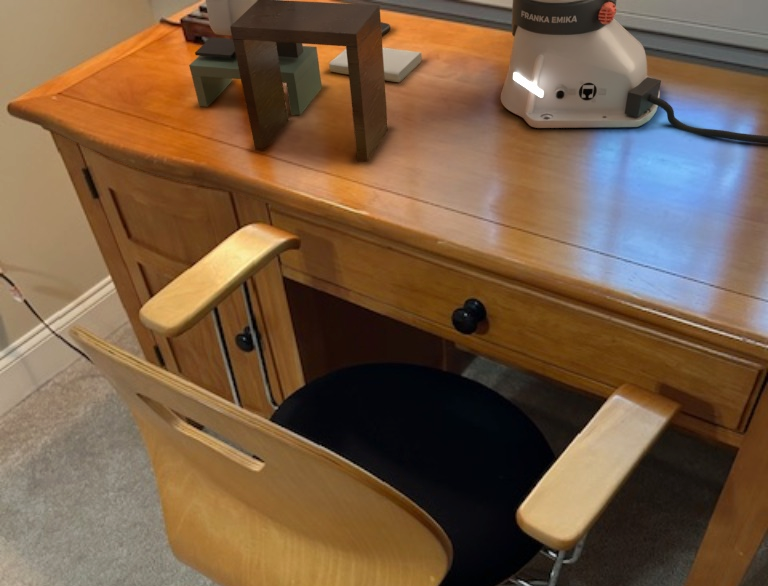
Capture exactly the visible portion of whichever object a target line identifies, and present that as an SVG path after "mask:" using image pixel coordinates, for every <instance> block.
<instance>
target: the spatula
mask: <svg viewBox="0 0 768 586" xmlns="http://www.w3.org/2000/svg"><path fill="white" fill-rule="evenodd" d="M276 46H277V52H278V56H280V57H293V58H298V57H299V56H300V55H301V54H302V53H303V46H304V44H301V43H286V42H276ZM235 54H236V53H235V48H234V43H233V38H225V37H210V38H208V40H207V41H206V42H205V43H204V44H202V45H201V46H200V47H199V48H198V49H197V50H196V51H195V52H194V55H195V56H211V57H224V58H232V57H233V56H234V55H235Z"/></svg>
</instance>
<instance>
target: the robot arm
mask: <svg viewBox="0 0 768 586" xmlns="http://www.w3.org/2000/svg"><path fill="white" fill-rule="evenodd" d="M257 1H258V0H205V5H206V12H207V16H208V17H207V18H208V23H209V24H208V25H209V27H210V30H212V32H213V33H214V34H215V35H217V36H230V37H232V33H231V28H230V26H231V25H232V24H233V23H234V22H235V21H237V20H238V19H239V18H240V17H241V16H242V15H243V14H244V13H245V12H246V11H247V10H248V9H249V8H250V7H251V6H252V5H253V4H254V3H256V2H257ZM616 13H617V0H512V7H511V28H512V29H511V33H512V46H511V51H510V52H511V53H510V57H509V63H508V67H507V72H506V76H505V80H504V83H503V86H502V89H501V93H500V95H499V97H500V102H501V104H502V105H503V107H504V108H505V109H506V110H508V111H509V112H511V113H513V114H515V115H517V116H519V117H520V118H522V119H523V120H524V122H526V123H527V124H528V126H530V127H532V128H535V129H536V128H537V129H550V128H551V129H554V128H555V129H559V128H561V129H562V128H563V129H565V128H566V129H568V128H569V129H570V128H572V129H573V128H575V129H576V128H577V129H579V128H638V127H641V126H643V125H645V124H646V123H648V122H649V121H650V120H651V119H652V118H653V117H654V115H656V112H657V111H658V107H660V108H661V109H663V110H664V111H665V112H666V117H667V120H668V123H669V124H670V125H672V126H673V127H674V128H676V129H678V130H681V131H685V132H687V133H690V134H694V135H698V136H703V137H713V138H720V139H726V140H732V141H733V140H734V141H739V142H748V143H758V144H759V143H760V144H768V135H763V134H762V135H760V134H752V133H751V134H749V133H741V132H736V131H729V130H722V129H714V128H713V129H712V128H699V127H694V126H690V125H687V124H685V123H683V122H681V121H680V120H679V119H677V118H676V116H675V111H674V108H673V106H671V104H670V103H668V101H666V100H665V99H662V98H660V97H661V96H660V94H661V91H660V90H661V89H660V88H661V84H662V83H661V82H662V80H661V79H657V78H653V77H651V76H648V61H647V54H646V50H645V47H644V45H643V44H642V43H641V42H640V41H639V40H638V39H636V37H635V36H633V35H632V34H631V32H629V31H628V30H627V29H625V27H624V26H622V25H621V23H619V21H617V20H616V19H615V16H616Z"/></svg>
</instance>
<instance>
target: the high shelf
mask: <svg viewBox="0 0 768 586" xmlns="http://www.w3.org/2000/svg"><path fill="white" fill-rule="evenodd" d="M380 6H381V5H380V4H366V3H365V4H364V3H363V4H362V3H342V2H322V1H302V0H301V1H300V0H258V1H257V2H256V3H254V4H253V5H252V6H251V7H250V8H249V9H248V10H247V11H246V12H245V13H244V14H243V15H242V16H241V17H240V18H239V19H238V20H237V21H235V22H234V23H233V24H232V25H231V26H230V28H231V33H232V36H231V39H233V43H234V48H235V53H236V58H237V63H238V68H239V73H240V78H241V79H240V82H241V86H242V92H243V98H244V103H245V108H246V112H247V116H248V122H249V126H250V133H251V136H252V142H253V147H254V150H255V151H259V152H265V151H266V150H267V149H268V148H269V146H270V145H271V144H272V143H273V142H274V140H275V139H276V138H277V136H278V135H279V134H280V132H281V131H282V130H283V129H284V128H285V126H287V124H288V123H289V121H290V120H289V114H288V109H287V108H288V107H287V102H286V95H285V89H284V83H282V77H281V71H280V65H279V59H278V52H277V46H276V42H286V43H301V44H302V45H319V46H335V47H345V49H346V51H347V61H348V71H349V75H348V80H349V81H348V82H349V91H350V100H351V101H350V102H351V109H352V120H353V131H354V140H355V141H354V142H355V151H356V159H357V160H356V161H358V162H366V163H368V162H369V160H370V159H371V157H372V156H373V154H374V152H375V151H376V150H377V148H378V146H379V145H380V144H381V142H382V140H383V139H384V137H385V135H386V134H387V132H388V131H389V125H388V111H387V95H386V80H385V78H384V63H383V48H382V47H383V35H382V33H381V22H382V21H381V20H382V19H381V7H380Z"/></svg>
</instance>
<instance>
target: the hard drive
mask: <svg viewBox="0 0 768 586" xmlns="http://www.w3.org/2000/svg"><path fill="white" fill-rule="evenodd" d="M382 48H383V63H384V78H385V81H387V82H393V83H401V82H402V81H403V80H404V79H406V77H408V76H409V74H410V73H412V72H413V71H414V70H415V69H416V68H417V67H418V65H420V64H421V63H422V59H423V55H422V52H420V51H413V50H404V49H397V48H391V47H383V46H382ZM328 67H329V68H328V69H329V72H330V73H331V72H332V73H336V74H342V75H348V76H349V71H348V61H347V51H346V48H345V49H344V50H343V51H341V52H340V53H339V54H338V55H337V56H336V57H334V58H333V59H332V60H330V62H329V63H328Z"/></svg>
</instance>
